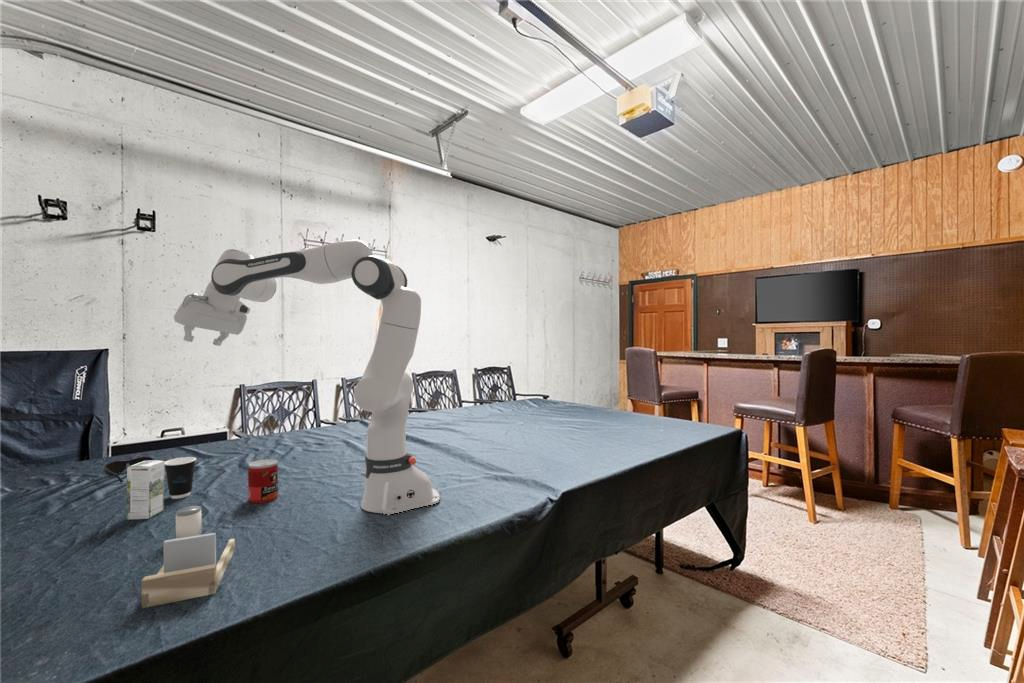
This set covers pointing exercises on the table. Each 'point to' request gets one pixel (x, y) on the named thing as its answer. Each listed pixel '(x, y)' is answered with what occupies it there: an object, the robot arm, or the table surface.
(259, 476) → the canned food
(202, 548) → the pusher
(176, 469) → the dixie cup
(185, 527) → the jar
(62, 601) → the table surface
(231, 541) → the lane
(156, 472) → the syrup box
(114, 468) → the sunglasses
